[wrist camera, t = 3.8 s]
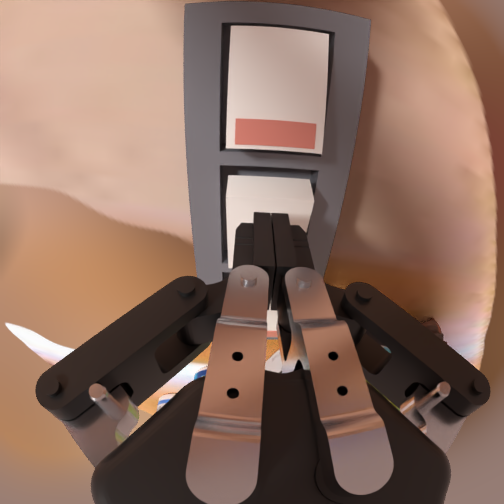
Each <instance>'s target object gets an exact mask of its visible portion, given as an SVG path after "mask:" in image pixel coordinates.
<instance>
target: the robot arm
mask: <svg viewBox="0 0 504 504" xmlns="http://www.w3.org/2000/svg"><path fill="white" fill-rule="evenodd" d="M270 306H271V310H275V311H277V314H278V319H277V324H276V329H277V336H278V342H279V349H280V355H281V362H282V373H277V372H272V371H268V370H265V358H266V342H267V310H269V307H270ZM366 331H368V332H369V333H371V334H372V335H373V336H374V337H375V338H377V339H378V340H379V341H380V342H382V343H383V344H384V345H385V346H386V347H388V348H389V350H390V351H391V353H389V352H388V351H387V350H385V349H384V348H383V347H382V346H381V345H379V344H378V343H377V342H376V341H375V340H373V339H372V338H371V337H370V336H369V335H367V334H366V333H365V332H366ZM212 341H213V342H212ZM211 342H212V347H211V352H210V357H209V362H208V367H207V372H206V375H205V376H202V377H200V378H197V379H195V380H194V381H192V382H190V383H188V384H187V385H186V386H184V387H183V388H182V389H181V390H180V391H179V392H178V393H177V394H175V395H174V396H173V397H172V398H171V399H170V400H169V401H168V402H167V403H166V404H165V405H164V406H163V407H161V408H160V409H159V410H158V411H157V412H156V413H155V414H154V415H153V416H152V417H151V418H149V419H148V420H147V421H146V422H145V423H144V424H143V425H142V426H141V427H139V428H138V429H137V430H136V431H135V432H134V433H133V434H131V435H130V436H129V434H130V432H131V430H132V429H133V428H134V427H135V426H136V424H137V422H138V419H139V411H138V408H137V407H138V406H139V405H140V404H141V403H143V402H144V401H145V400H146V399H147V398H149V397H150V396H151V395H152V394H153V393H155V392H156V391H157V390H158V389H159V388H161V387H162V386H163V385H164V384H165V383H167V382H168V381H169V380H170V379H171V378H172V377H174V376H175V375H176V374H177V373H178V372H180V371H181V370H182V369H183V368H184V367H185V366H186V365H188V364H189V363H190V362H191V361H192V360H193V359H195V358H196V357H197V356H198V355H199V354H200V353H201V352H203V351H204V350H205V349H206V348H207V347H208V346H209V345H210V343H211ZM366 380H367V381H368V382H369V383H370V384H369V383H368V382H367V381H366ZM374 387H375V388H376V389H377V390H378V391H377V390H376V389H375V388H374ZM382 394H383V395H384V396H385V397H386V398H387V399H388V400H390V401H391V402H392V403H393V404H394V405H395V406H397V407H398V408H399V409H400V411H399V410H398V409H397V408H396V407H395V406H394V405H393V404H391V403H390V402H389V401H388V400H387V399H386V398H385V397H384V396H383V395H382ZM36 397H37V399H38V401H39V403H40V404H41V405H42V406H43V407H44V408H45V409H47V410H48V411H49V412H51V413H52V414H53V415H54V416H55V417H56V418H57V419H58V420H60V421H61V422H63V424H64V425H65V426H66V428H67V430H68V431H69V433H70V434H71V436H72V437H73V439H74V440H75V442H76V443H77V444H78V446H79V447H80V449H81V450H82V451H83V453H84V454H85V455H86V457H87V458H88V460H89V461H90V462H91V463H92V464H93V466H94V467H95V471H94V473H93V476H92V480H91V492H92V497H93V500H94V503H95V504H444V500H445V496H446V493H447V490H448V487H449V483H450V478H451V469H450V463H449V460H448V458H447V456H446V453H447V451H448V449H449V448H450V446H451V444H452V442H453V441H454V439H455V437H456V435H457V434H458V431H459V430H460V428H461V426H462V424H463V422H464V420H465V418H466V417H467V416H468V415H470V414H471V413H472V412H474V411H475V410H477V409H478V408H479V407H481V406H482V405H483V404H485V403H486V402H487V401H488V399H489V397H490V386H489V382H488V380H487V378H486V377H485V376H484V375H483V374H482V373H481V372H480V371H479V370H478V369H476V368H475V367H474V366H473V365H472V364H470V363H469V362H468V361H467V360H466V359H464V358H463V357H462V356H461V355H460V354H458V353H457V352H456V351H455V350H454V349H452V348H451V347H450V346H449V345H447V344H446V343H445V342H444V341H443V340H441V339H440V338H439V337H438V336H436V335H435V334H434V333H433V332H431V331H430V330H429V329H428V328H426V327H425V326H424V325H422V324H421V323H420V322H419V321H417V320H416V319H415V318H413V317H412V316H411V315H410V314H408V313H407V312H406V311H404V310H403V309H402V308H401V307H399V306H398V305H397V304H395V303H394V302H393V301H391V300H390V299H389V298H387V297H386V296H385V295H383V294H382V293H381V292H379V291H378V290H377V289H375V288H374V287H372V286H371V285H369V284H366V283H363V282H355V283H352V284H350V285H348V286H347V288H346V290H344V289H340V288H337V287H333V286H330V285H328V284H326V283H324V281H323V278H322V277H321V275H320V274H319V273H318V272H316V271H315V268H314V264H313V260H312V256H311V251H310V248H309V243H308V239H307V235H306V232H305V231H304V230H303V229H302V228H301V227H300V226H299V225H290V221H289V215H288V214H287V213H271V214H270V213H267V212H254V214H253V223H240V225H239V226H238V227H237V228H236V232H235V244H234V255H233V267H232V271H231V272H230V274H229V276H228V277H227V278H226V279H224V280H222V281H220V282H217V283H213V284H208V285H206V284H205V282H204V281H203V280H201V279H199V278H197V277H193V276H184V277H179V278H177V279H175V280H173V281H172V282H170V283H169V284H168V285H166V286H165V287H163V288H162V289H160V290H159V291H157V292H156V293H154V294H153V295H152V296H150V297H149V298H147V299H146V300H145V301H143V302H142V303H141V304H139V305H137V306H136V307H135V308H133V309H132V310H130V311H129V312H127V313H126V314H124V315H123V316H122V317H120V318H119V319H117V320H116V321H115V322H113V323H112V324H110V325H109V326H108V327H106V328H105V329H103V330H102V331H100V332H99V333H98V334H96V335H95V336H94V337H92V338H91V339H89V340H88V341H87V342H85V343H84V344H82V345H81V346H80V347H79V348H77V349H75V350H74V351H73V352H71V353H70V354H69V355H67V356H66V357H65V358H63V359H62V360H60V361H59V362H58V363H56V364H55V365H54V366H52V367H51V368H50V369H48V370H47V371H46V372H44V373H43V374H42V375H41V376H40V378H39V379H38V381H37V385H36ZM128 436H129V437H128Z"/></svg>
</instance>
